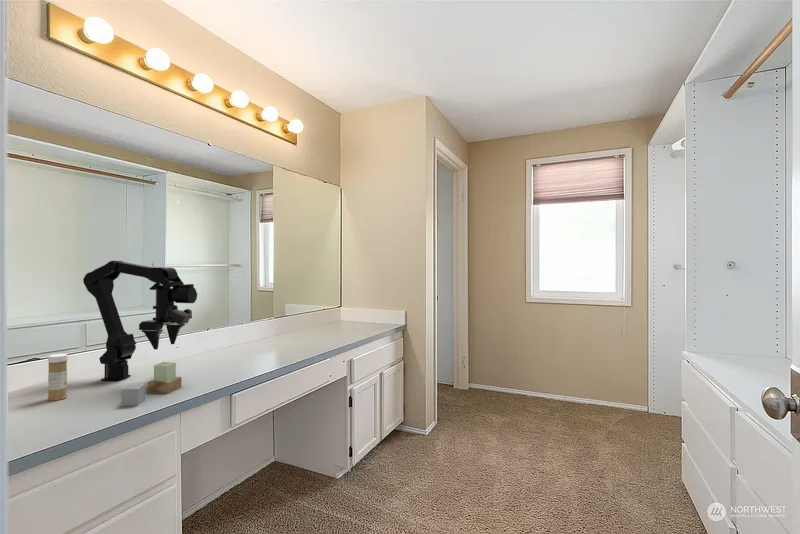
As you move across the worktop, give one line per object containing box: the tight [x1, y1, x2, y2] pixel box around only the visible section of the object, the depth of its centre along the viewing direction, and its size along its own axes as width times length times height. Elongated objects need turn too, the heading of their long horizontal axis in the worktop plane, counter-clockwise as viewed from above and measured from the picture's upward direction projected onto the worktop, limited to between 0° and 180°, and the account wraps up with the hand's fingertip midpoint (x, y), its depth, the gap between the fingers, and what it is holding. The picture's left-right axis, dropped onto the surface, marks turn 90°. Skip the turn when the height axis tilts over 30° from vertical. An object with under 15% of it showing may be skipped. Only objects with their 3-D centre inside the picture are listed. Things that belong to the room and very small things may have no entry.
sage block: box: [153, 361, 177, 381], centre depth 134 cm, size 4×4×5 cm
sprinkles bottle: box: [47, 353, 68, 401], centre depth 123 cm, size 5×5×13 cm
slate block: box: [120, 383, 146, 407], centre depth 121 cm, size 4×4×5 cm
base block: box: [146, 376, 182, 394], centre depth 134 cm, size 7×7×4 cm
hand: (164, 346), depth 144 cm, fingers open, 9 cm apart
